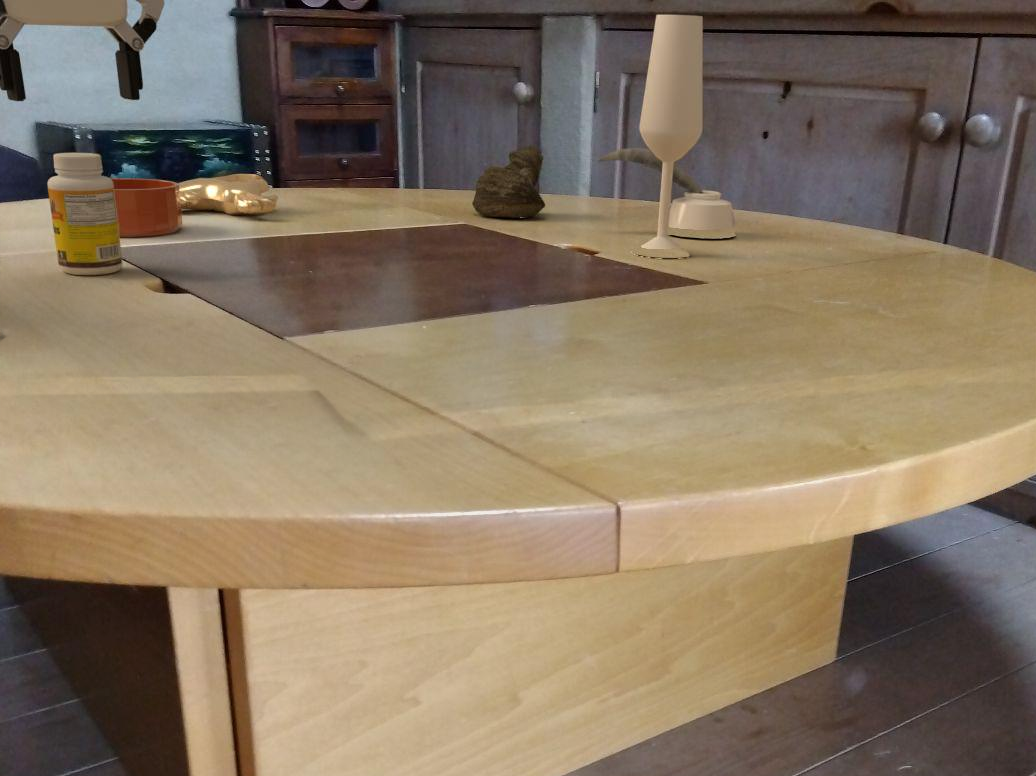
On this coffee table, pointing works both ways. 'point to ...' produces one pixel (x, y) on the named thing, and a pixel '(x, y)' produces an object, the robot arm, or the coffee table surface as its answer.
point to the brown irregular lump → (511, 187)
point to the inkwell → (697, 204)
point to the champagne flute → (672, 103)
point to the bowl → (147, 207)
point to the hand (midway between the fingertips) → (75, 99)
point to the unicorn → (228, 194)
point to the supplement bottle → (84, 215)
